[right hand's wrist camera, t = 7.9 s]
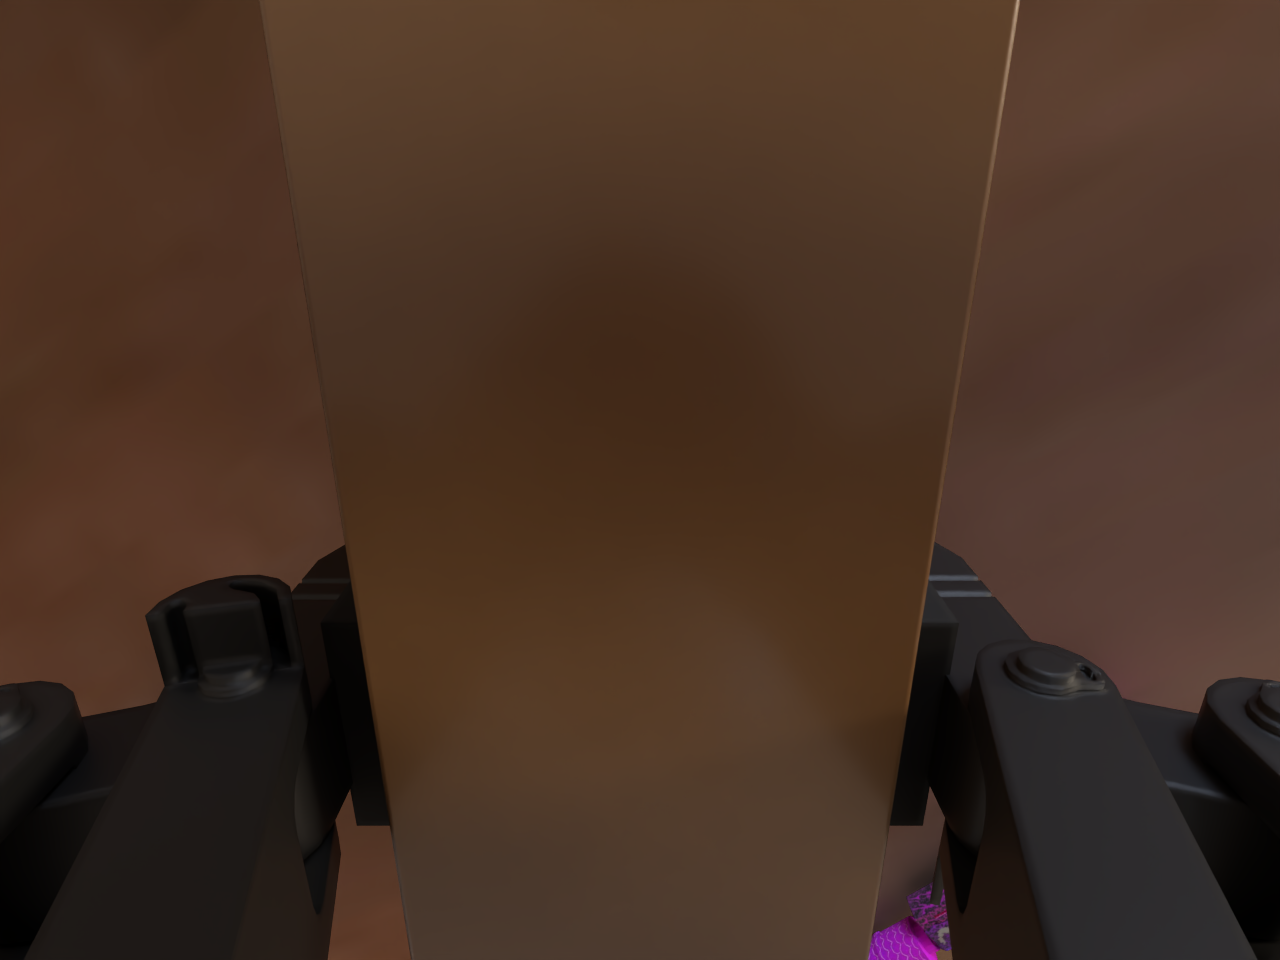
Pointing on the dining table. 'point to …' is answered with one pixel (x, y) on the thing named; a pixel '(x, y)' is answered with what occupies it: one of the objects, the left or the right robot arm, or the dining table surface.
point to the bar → (639, 439)
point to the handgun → (914, 931)
